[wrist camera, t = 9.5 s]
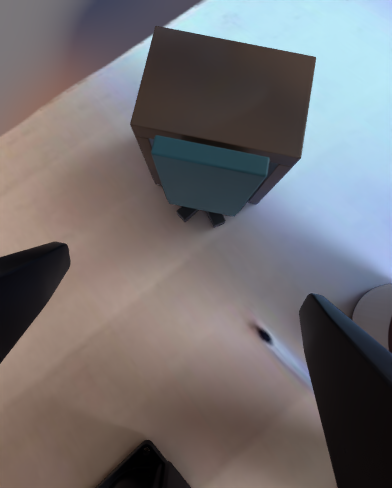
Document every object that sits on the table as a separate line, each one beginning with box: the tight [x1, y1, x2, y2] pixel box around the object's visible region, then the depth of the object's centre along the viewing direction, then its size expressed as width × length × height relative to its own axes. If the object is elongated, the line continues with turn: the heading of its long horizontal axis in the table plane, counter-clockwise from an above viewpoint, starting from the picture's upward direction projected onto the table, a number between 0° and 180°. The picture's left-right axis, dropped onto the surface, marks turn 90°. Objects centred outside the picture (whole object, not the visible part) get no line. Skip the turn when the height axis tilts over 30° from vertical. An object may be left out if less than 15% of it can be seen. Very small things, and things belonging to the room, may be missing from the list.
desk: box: [130, 26, 316, 204], centre depth 16 cm, size 6×9×8 cm, turn 78°
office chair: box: [151, 135, 270, 228], centre depth 14 cm, size 5×6×11 cm
